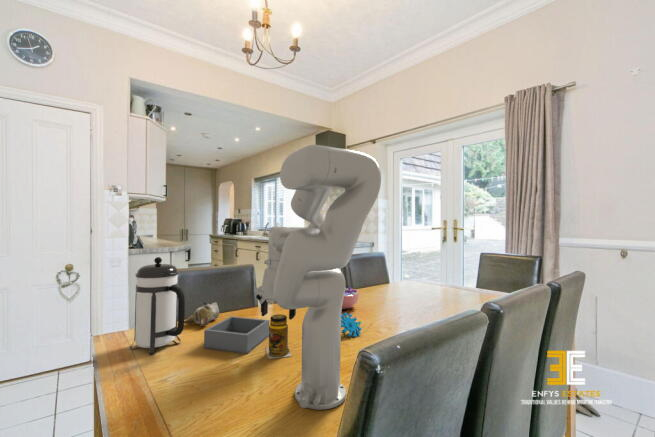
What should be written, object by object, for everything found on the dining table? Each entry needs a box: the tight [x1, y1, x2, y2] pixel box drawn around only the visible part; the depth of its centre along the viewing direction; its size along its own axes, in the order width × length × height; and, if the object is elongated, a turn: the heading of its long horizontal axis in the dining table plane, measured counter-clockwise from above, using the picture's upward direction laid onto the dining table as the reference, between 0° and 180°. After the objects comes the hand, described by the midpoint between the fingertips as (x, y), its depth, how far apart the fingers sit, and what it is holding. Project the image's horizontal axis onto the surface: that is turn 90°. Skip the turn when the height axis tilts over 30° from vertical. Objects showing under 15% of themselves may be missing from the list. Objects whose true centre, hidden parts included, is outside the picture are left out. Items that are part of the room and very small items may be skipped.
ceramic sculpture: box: [184, 301, 220, 327], centre depth 127 cm, size 11×9×15 cm
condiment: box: [265, 313, 292, 360], centre depth 99 cm, size 7×8×12 cm
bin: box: [203, 315, 270, 355], centre depth 107 cm, size 16×16×6 cm
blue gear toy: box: [341, 312, 362, 338], centre depth 117 cm, size 11×6×10 cm
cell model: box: [342, 286, 360, 310], centre depth 153 cm, size 17×20×11 cm
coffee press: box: [129, 256, 186, 356], centre depth 102 cm, size 17×16×30 cm
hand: (277, 316), depth 100 cm, fingers open, 9 cm apart
